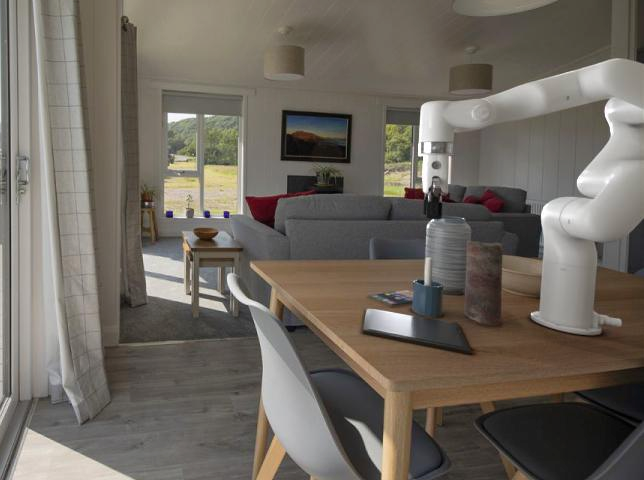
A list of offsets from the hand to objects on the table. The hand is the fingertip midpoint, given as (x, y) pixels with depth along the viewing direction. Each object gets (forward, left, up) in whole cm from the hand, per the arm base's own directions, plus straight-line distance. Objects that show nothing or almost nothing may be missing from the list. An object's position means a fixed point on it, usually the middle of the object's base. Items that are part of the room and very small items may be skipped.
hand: (431, 216), depth 101 cm
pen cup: (0, 0, -25) cm, 25 cm away
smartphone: (+6, -8, -26) cm, 28 cm away
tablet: (+4, +15, -25) cm, 29 cm away
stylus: (0, 0, -25) cm, 25 cm away
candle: (-12, -1, -26) cm, 28 cm away
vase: (-7, -26, -26) cm, 37 cm away
